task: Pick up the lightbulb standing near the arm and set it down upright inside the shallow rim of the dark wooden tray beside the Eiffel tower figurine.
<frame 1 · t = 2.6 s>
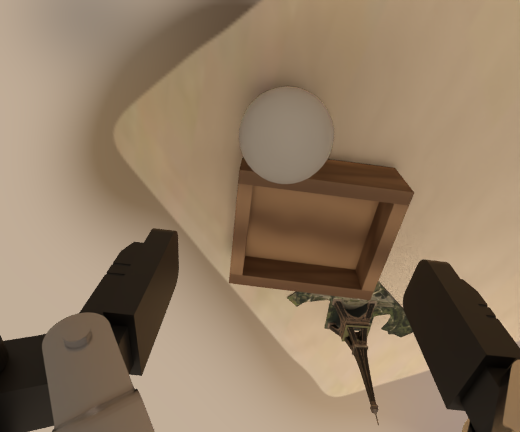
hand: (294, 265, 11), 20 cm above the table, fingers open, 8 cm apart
lightbulb: (284, 107, 28), on the table
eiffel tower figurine: (354, 309, 41), on the table
wooden tray: (307, 213, 33), on the table
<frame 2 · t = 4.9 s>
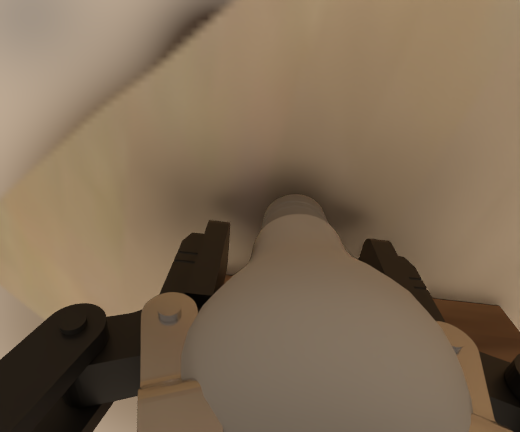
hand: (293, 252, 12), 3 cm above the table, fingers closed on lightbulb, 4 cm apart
lightbulb: (292, 209, 14), on the table, touching gripper
wooden tray: (333, 365, 19), on the table
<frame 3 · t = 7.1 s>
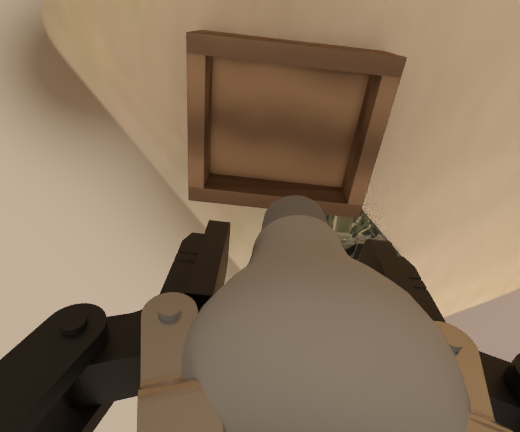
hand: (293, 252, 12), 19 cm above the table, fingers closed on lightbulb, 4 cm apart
lightbulb: (292, 210, 14), point 16 cm above the table, touching gripper
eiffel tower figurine: (340, 254, 36), on the table
wooden tray: (282, 119, 28), on the table
when the fingers open (5 cm above the table, at t = 9.4 s): lightbulb stays where it is, resting on wooden tray.
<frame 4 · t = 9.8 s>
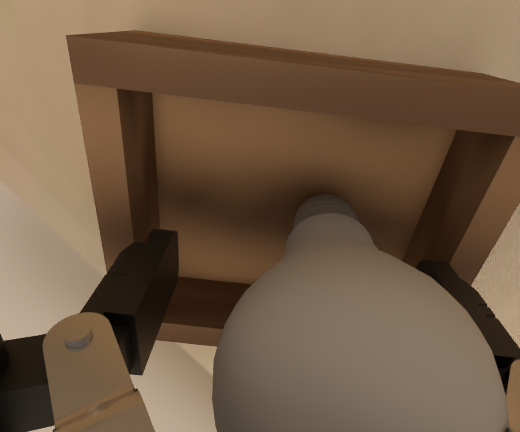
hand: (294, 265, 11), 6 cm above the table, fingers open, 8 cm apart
lightbulb: (323, 209, 15), point 2 cm above the table, touching gripper, wooden tray
wooden tray: (287, 186, 16), on the table
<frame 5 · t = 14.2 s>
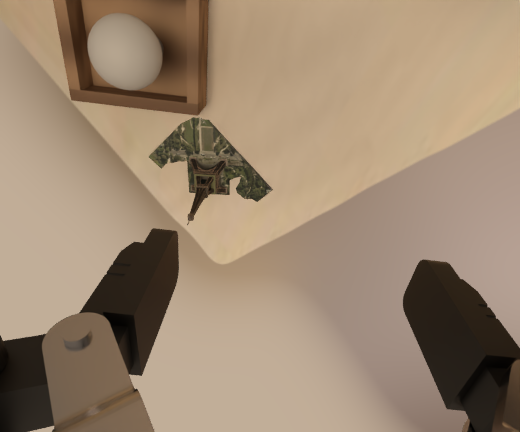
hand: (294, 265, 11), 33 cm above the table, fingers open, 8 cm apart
lightbulb: (155, 47, 36), point 2 cm above the table, touching wooden tray
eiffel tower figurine: (213, 172, 46), on the table
wooden tray: (146, 44, 38), on the table
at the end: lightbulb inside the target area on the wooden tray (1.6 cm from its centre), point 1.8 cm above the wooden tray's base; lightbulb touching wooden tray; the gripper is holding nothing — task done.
